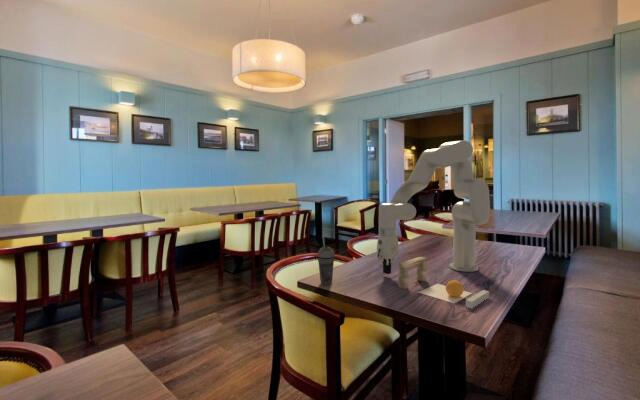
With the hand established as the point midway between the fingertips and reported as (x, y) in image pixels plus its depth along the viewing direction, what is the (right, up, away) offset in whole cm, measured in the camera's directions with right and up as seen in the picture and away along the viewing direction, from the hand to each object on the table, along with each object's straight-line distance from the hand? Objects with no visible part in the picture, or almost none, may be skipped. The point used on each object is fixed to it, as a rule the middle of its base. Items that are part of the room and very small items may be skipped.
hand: (387, 273), depth 144 cm
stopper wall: (+26, -4, -29) cm, 39 cm away
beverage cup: (-27, -3, -9) cm, 28 cm away
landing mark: (+18, -3, -20) cm, 27 cm away
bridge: (+9, -2, -10) cm, 13 cm away
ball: (+20, 0, -24) cm, 31 cm away
